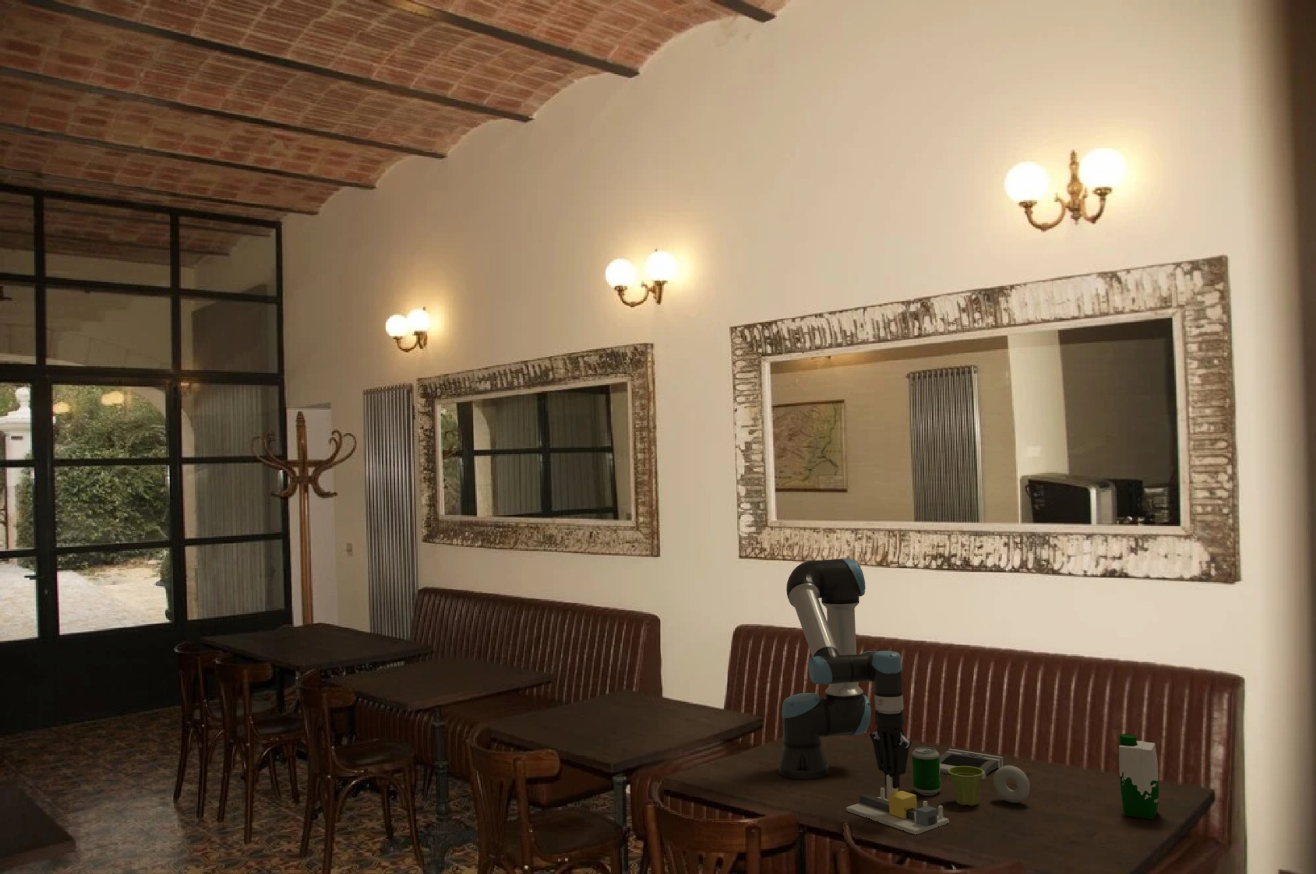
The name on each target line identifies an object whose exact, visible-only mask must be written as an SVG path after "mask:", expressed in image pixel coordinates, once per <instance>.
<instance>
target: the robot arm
mask: <svg viewBox="0 0 1316 874" xmlns="http://www.w3.org/2000/svg"><path fill="white" fill-rule="evenodd" d="M865 594H866V580H865V574H864V572H863V569H862V567H861V565H860V563H859V562H858V561H857V560H855V559H852V558H834V559H832V558H831V559H818V560H817V559H813V560H811V559H810V560H806V561H803V562H802V563H800V564H798V565H797V566H795V568H794V569H793V570H792V571H791V573H790V575H789V576H788V580H787V582H786V595H787V596H786V597H787V599H788V602H789V604H790V605H791V606H792V607H794V609H795V612H796V615H797V618H798V621H799V622H800V627H801V629H802V631H803V634H804V637H805V640H806V643H807V645H808V649H809V652H810V654H811V657H810V658H809V660H808V664H807V665H808V673H809V674H808V675H809V679H810V681H811V682H812V683H813V684H814V685H829V686H828V687H827V688H826V689H825V691H824V693H825V694H824V695H825V696H824V697H821V696H820V695H819V694H818V693H817V692H816V693H815V692H801V693H796V694H793V695H790V696H788V697H786V698H785V699H784V700H783V702H782V705H781V706H782V709H781V717H782V733H783V734H782V737H783V738H782V739H783V749H782V753H781V757H780V761H779V763H778V773H779V774H780V775H781V776H782V777H784V778H788V779H792V780H793V779H795V780H814V779H816V780H817V779H819V778H820V779H821V778H823V777H826V776H827V775H828V774H829V763H828V762H827V758H826V755H825V752H824V750H823V746H822V745H823V744H822V743H823V742H822V738H827V737H841V736H850V737H852V736H854V735H862V734H864V733H865V732H867V730H868V728H869V726H870V723H871V714H872V713H871V712H872V711H871V706H870V704H871V703H870V699H869V697H868V696H867V695H866V694H865V695H864V690H863V689H862V688H861V687H860V686H859V683H865V682H866V683H867V682H873V694H874V695H873V697H874V709H875V711H874V717H875V718H874V721H875V725H876V731H874V732H870V733H869V737H870V739H871V741H872V745H873V749H874V754H875V760H876V766H877V769H878V771H881V772H883V774H884V784H885V787H886V797H887V798H886V799H887V800H889V795H890V794H893V793H896V792H899V788H900V776H902V775H905V774H906V773H907V772H906V771H907V766H908V765H907V764H908V759H909V757H908V756H909V753H910V752H909V751H910V748H911V746H912V744H913V741H912V740H911V739H907V738H906V737H905V732H904V729H903V727H904V725H905V717H904V716H905V713H904V712H903V710H904V709H905V708H904V707H905V706H904V695H903V694H904V692H903V691H904V690H903V664H902V658H901V654H900V653H899V652H897V651H893V650H879V651H874V650H873V651H872V650H868V651H864V652H862V653H858V654H857V635H856V612H855V611H856V610H855V609H856V608H857V606H858V605H859V604H860V597H862V596H864V595H865ZM820 599H821V602H820ZM821 604H822V605H821ZM822 606H823V607H825V608H826V615H825V612H824V609H823V607H822Z"/></svg>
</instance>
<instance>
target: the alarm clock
mask: <svg viewBox="0 0 1316 874" xmlns="http://www.w3.org/2000/svg"><path fill="white" fill-rule="evenodd" d="M939 759H940V774H944V773H945V775H950V773H949V772H948V769H949V768H952V767H956V766H971V767H976V768H980V769H982V770H983V771H984V774H983V775H982V779H983V780H984V779H986V778H987V775H988V774H989V773H991V772H992V771H994V770H996V769H999V768H1000V767H1003V766H1004V756H998V755H993V754H987V753H980V752H973V751H967V750H961V749H954V748H948V749H947V750H946V751H945V753H943V754H941V755H939Z"/></svg>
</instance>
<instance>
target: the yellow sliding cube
mask: <svg viewBox="0 0 1316 874" xmlns="http://www.w3.org/2000/svg"><path fill="white" fill-rule="evenodd" d="M917 807H918V801H917V795H916V794H914V793H911V792H907V791H904V790H898V792H896V793H893V794H890V795H889V812H890V814H892V815H895V816H898V817H901V818H904V819H905V818H907V817H906V810H908V809H911V808H912V809H915V810H916V809H918V808H917Z"/></svg>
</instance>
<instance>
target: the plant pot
mask: <svg viewBox="0 0 1316 874" xmlns="http://www.w3.org/2000/svg"><path fill="white" fill-rule="evenodd" d="M948 772H949V773H950V774H949V776H950V778H951V782H952V783H951V784H952V788H953V792H954V794H953V795H954V798H955V803H957V804H958V805H961V806H967V805H968V806H970V807H971V806H973V807H974V806H978V805H979V803H980V798H981V797H980V793H981V784H982V780H981V779H982V775H983V774H984V771H983V770H982V769H980V768H976V767H971V766H956V767H952V768H949V769H948Z"/></svg>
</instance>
